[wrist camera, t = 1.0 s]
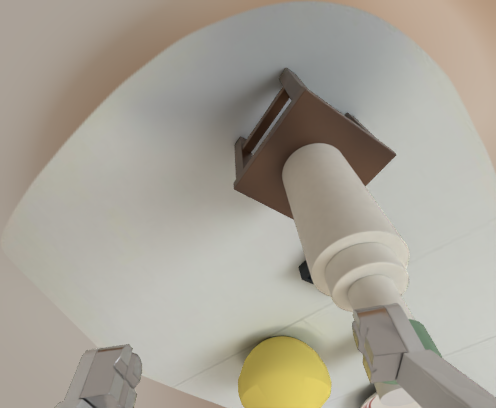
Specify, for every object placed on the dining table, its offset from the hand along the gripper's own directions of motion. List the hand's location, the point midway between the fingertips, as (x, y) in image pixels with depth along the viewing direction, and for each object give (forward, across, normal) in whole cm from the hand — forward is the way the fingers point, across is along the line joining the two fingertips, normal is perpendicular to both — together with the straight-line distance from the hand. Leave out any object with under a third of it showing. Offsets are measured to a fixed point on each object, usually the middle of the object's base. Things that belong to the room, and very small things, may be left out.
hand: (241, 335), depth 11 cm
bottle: (+18, -7, +5) cm, 20 cm away
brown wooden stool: (+28, -7, +5) cm, 29 cm away
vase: (+28, +1, +54) cm, 61 cm away
